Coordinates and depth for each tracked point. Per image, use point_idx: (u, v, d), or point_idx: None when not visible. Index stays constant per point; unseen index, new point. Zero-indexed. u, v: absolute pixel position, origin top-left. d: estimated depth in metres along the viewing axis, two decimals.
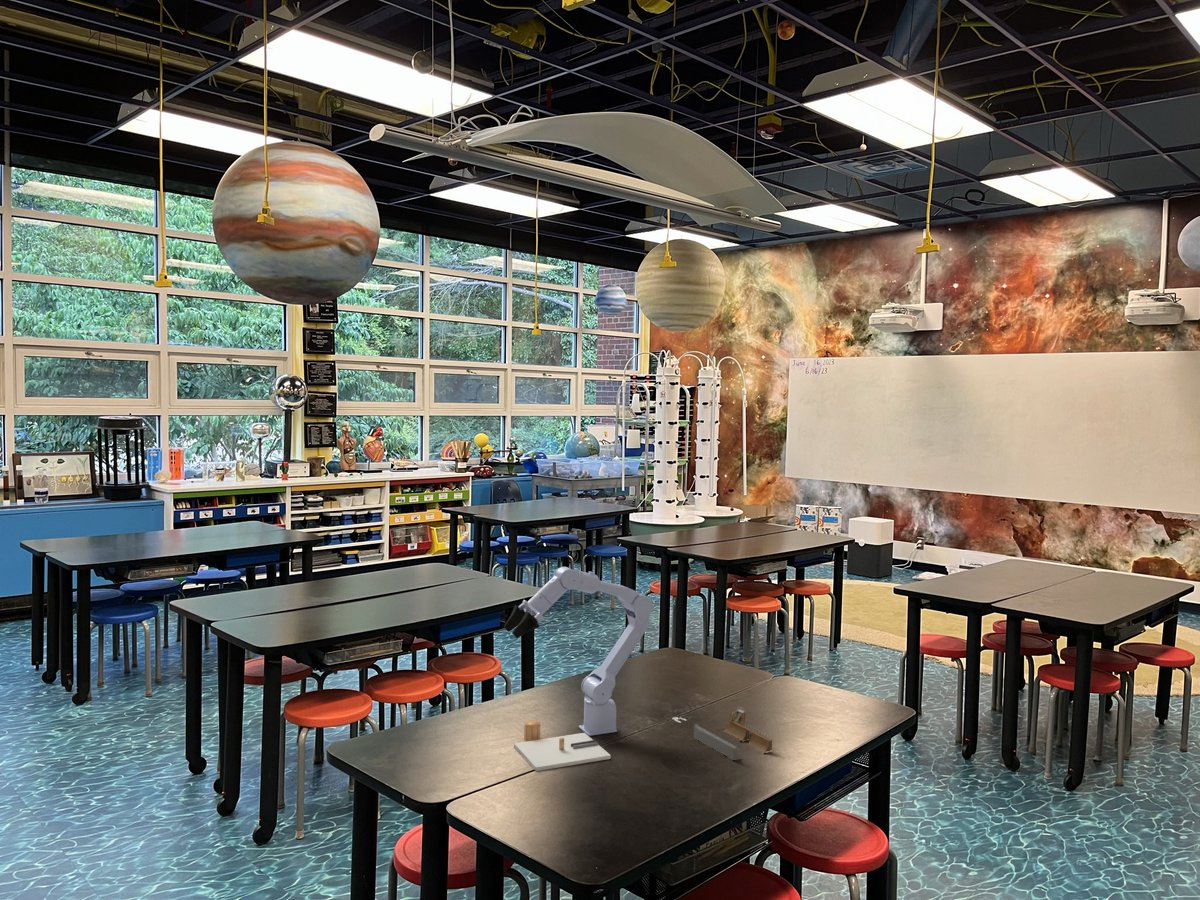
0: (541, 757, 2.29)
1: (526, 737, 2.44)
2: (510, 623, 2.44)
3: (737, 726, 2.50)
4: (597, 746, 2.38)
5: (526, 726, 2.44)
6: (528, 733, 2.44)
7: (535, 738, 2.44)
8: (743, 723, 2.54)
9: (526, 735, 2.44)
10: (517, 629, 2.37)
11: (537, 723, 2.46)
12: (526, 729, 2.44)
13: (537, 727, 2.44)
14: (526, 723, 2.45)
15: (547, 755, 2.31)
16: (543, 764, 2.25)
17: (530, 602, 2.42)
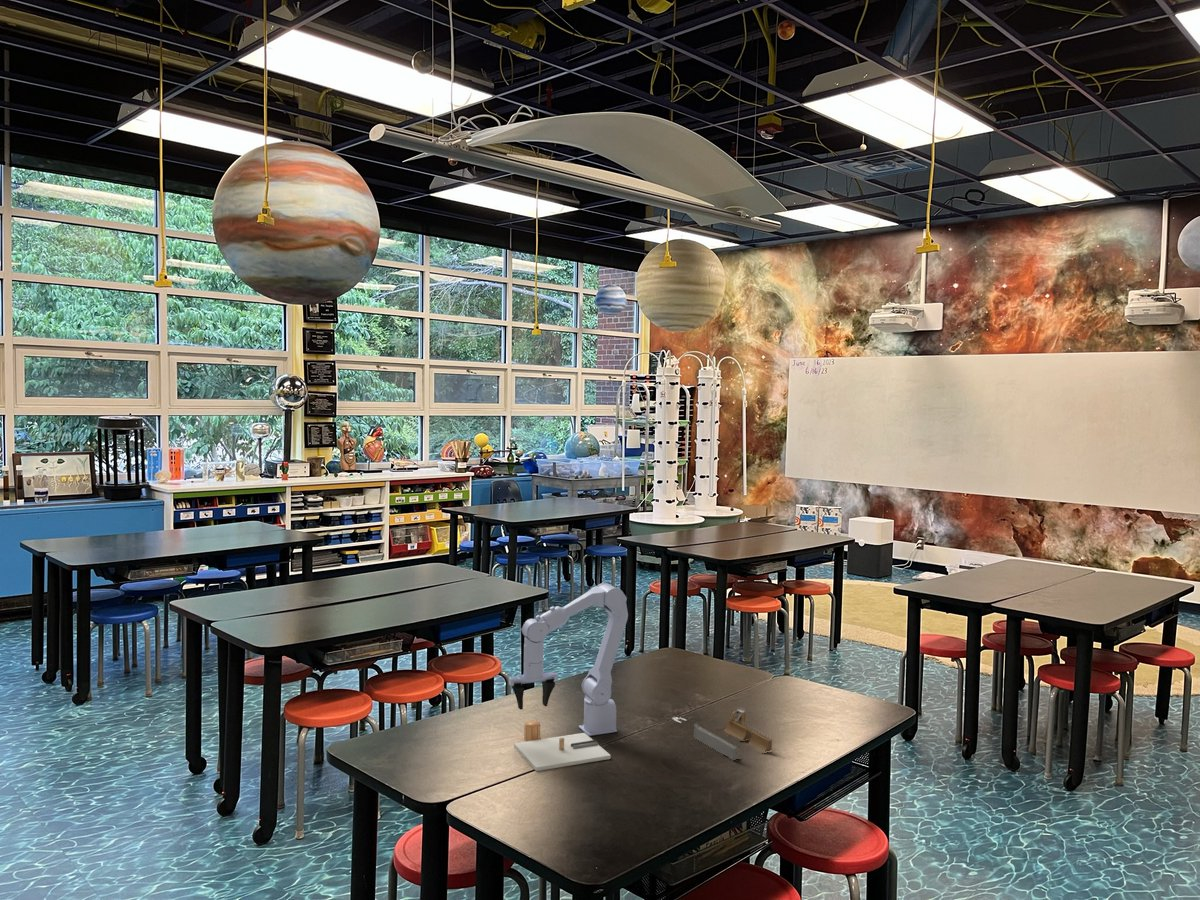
0: (541, 757, 2.29)
1: (526, 737, 2.44)
2: (543, 697, 2.47)
3: (737, 726, 2.50)
4: (597, 746, 2.38)
5: (526, 726, 2.44)
6: (528, 733, 2.44)
7: (535, 738, 2.44)
8: (743, 723, 2.54)
9: (526, 735, 2.44)
10: (517, 701, 2.44)
11: (537, 723, 2.46)
12: (526, 729, 2.44)
13: (537, 727, 2.44)
14: (526, 723, 2.45)
15: (547, 755, 2.31)
16: (543, 764, 2.25)
17: None
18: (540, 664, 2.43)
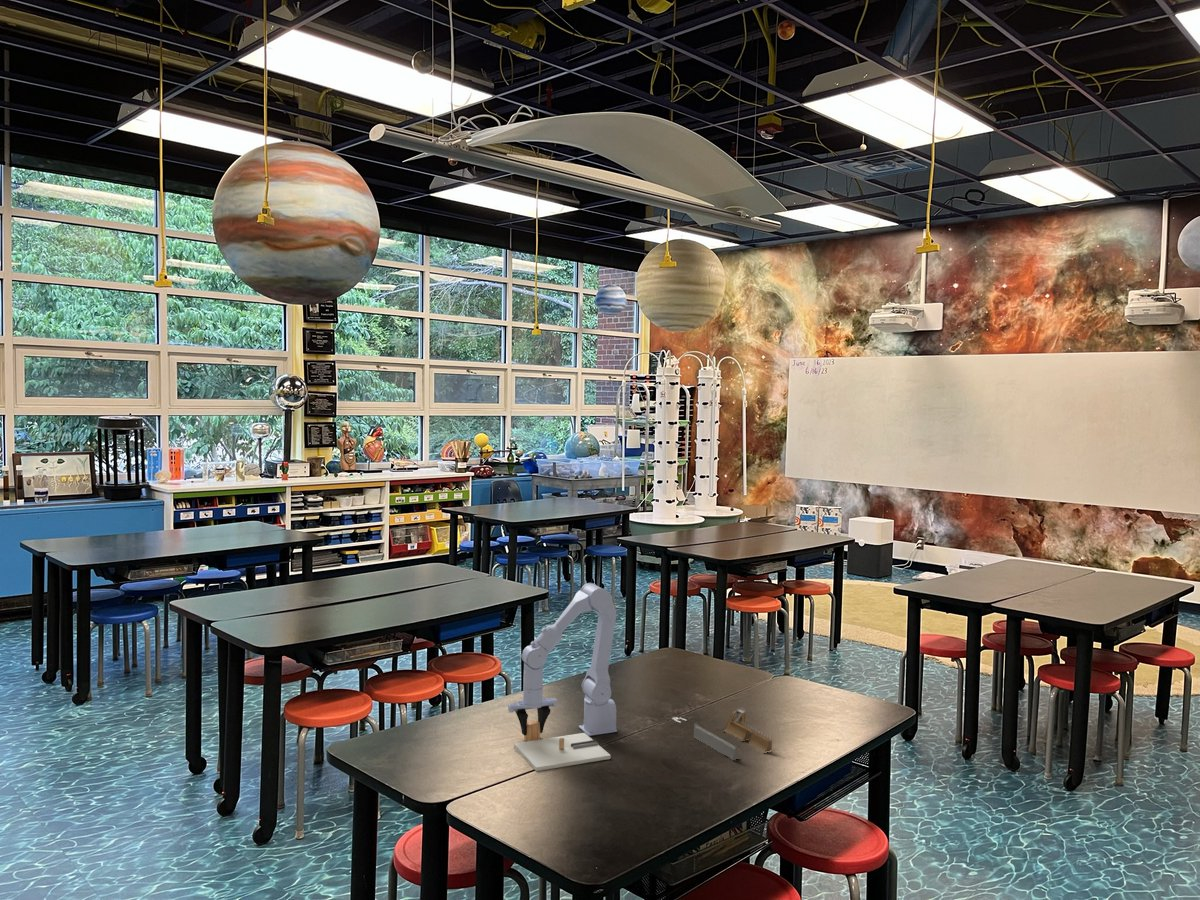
0: (541, 757, 2.29)
1: (526, 737, 2.44)
2: None
3: (737, 726, 2.50)
4: (597, 746, 2.38)
5: None
6: (528, 733, 2.44)
7: (535, 738, 2.44)
8: (743, 723, 2.54)
9: (526, 735, 2.44)
10: (521, 727, 2.45)
11: (537, 723, 2.46)
12: None
13: (537, 727, 2.44)
14: None
15: (547, 755, 2.31)
16: (543, 764, 2.25)
17: None
18: (540, 690, 2.43)
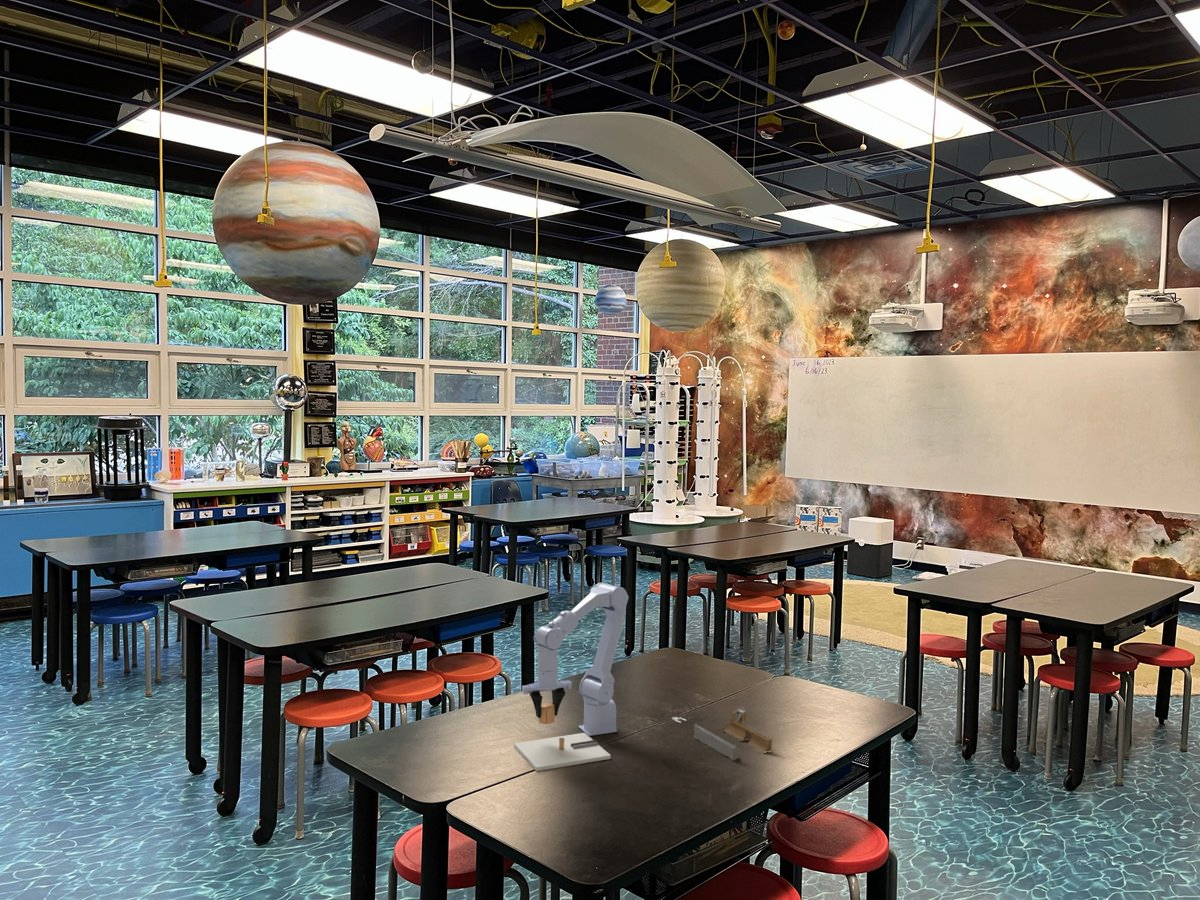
0: (541, 757, 2.29)
1: (540, 720, 2.39)
2: None
3: (737, 726, 2.50)
4: (597, 746, 2.38)
5: None
6: (542, 716, 2.38)
7: (549, 721, 2.38)
8: (743, 723, 2.54)
9: (540, 718, 2.39)
10: (535, 709, 2.40)
11: (551, 705, 2.40)
12: None
13: (552, 710, 2.39)
14: None
15: (547, 755, 2.31)
16: (543, 764, 2.25)
17: None
18: (554, 672, 2.38)
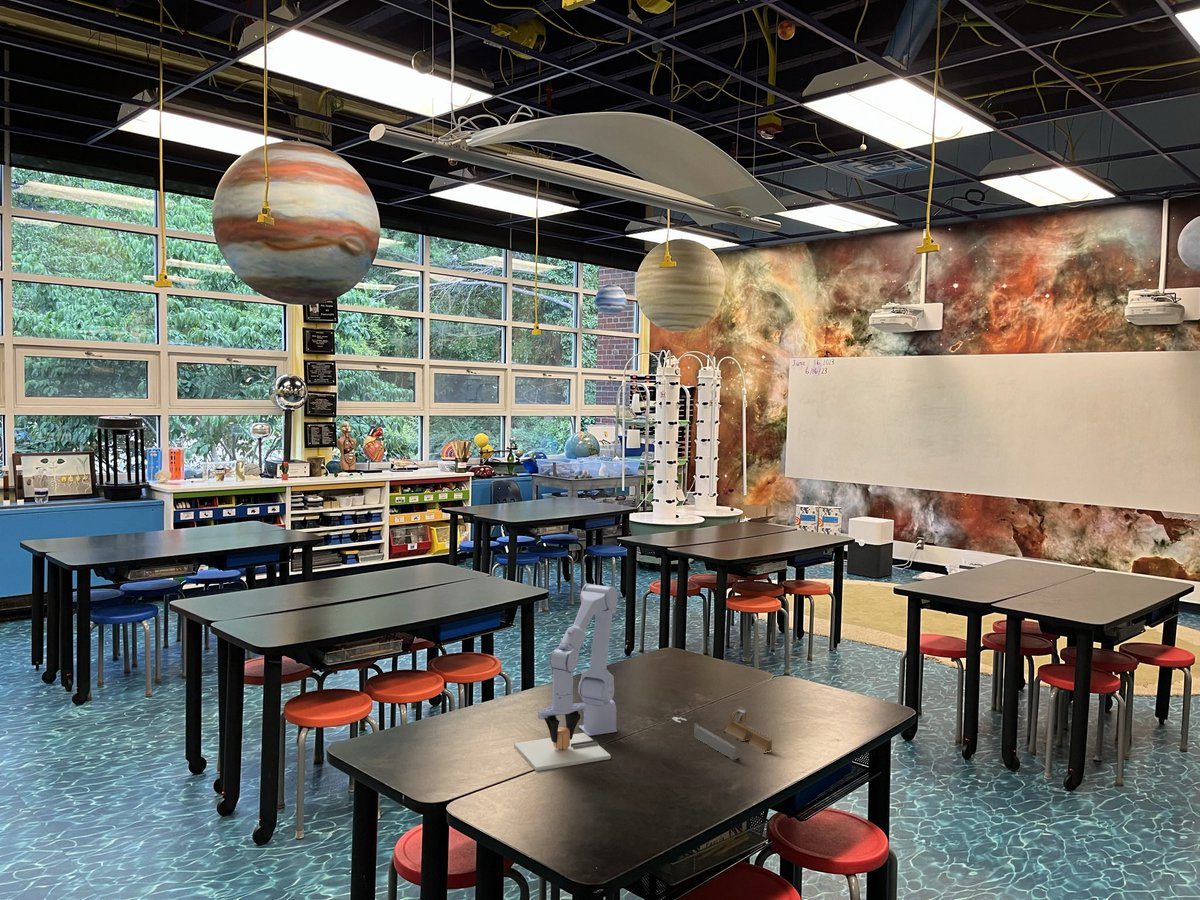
0: (541, 757, 2.29)
1: (556, 745, 2.34)
2: None
3: (737, 726, 2.50)
4: (597, 746, 2.38)
5: None
6: (558, 740, 2.33)
7: (566, 745, 2.34)
8: (744, 723, 2.54)
9: None
10: (550, 734, 2.34)
11: (566, 729, 2.36)
12: None
13: (567, 734, 2.34)
14: None
15: (547, 755, 2.31)
16: (543, 764, 2.25)
17: None
18: (570, 695, 2.33)
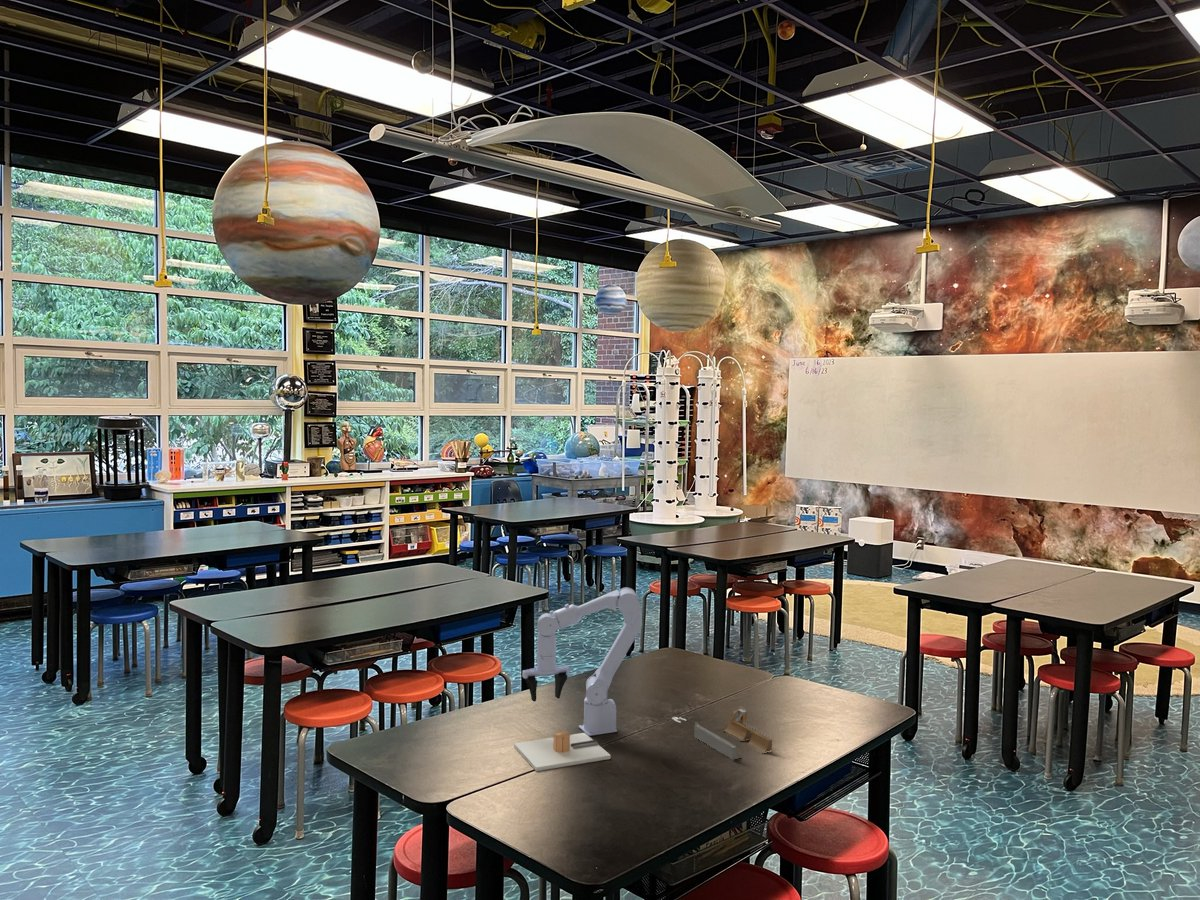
0: (541, 757, 2.29)
1: (556, 748, 2.34)
2: (556, 690, 2.54)
3: (738, 726, 2.50)
4: (597, 746, 2.38)
5: (556, 737, 2.34)
6: (558, 744, 2.33)
7: (566, 749, 2.34)
8: (744, 723, 2.54)
9: (556, 746, 2.34)
10: (531, 694, 2.51)
11: (566, 732, 2.36)
12: (556, 740, 2.34)
13: (567, 738, 2.34)
14: (555, 733, 2.35)
15: (547, 755, 2.31)
16: (543, 764, 2.25)
17: None
18: (553, 657, 2.50)
